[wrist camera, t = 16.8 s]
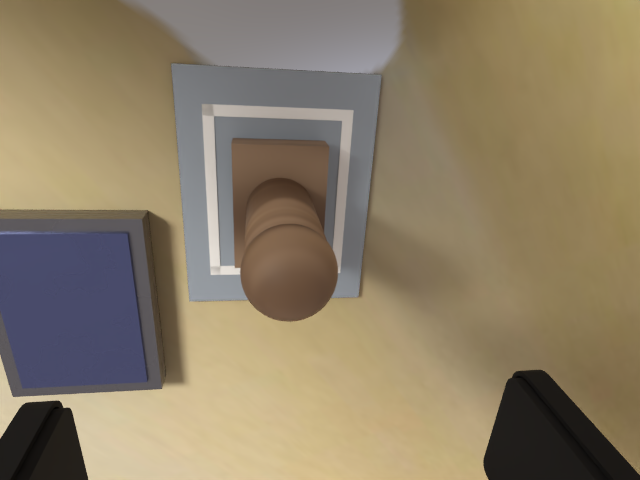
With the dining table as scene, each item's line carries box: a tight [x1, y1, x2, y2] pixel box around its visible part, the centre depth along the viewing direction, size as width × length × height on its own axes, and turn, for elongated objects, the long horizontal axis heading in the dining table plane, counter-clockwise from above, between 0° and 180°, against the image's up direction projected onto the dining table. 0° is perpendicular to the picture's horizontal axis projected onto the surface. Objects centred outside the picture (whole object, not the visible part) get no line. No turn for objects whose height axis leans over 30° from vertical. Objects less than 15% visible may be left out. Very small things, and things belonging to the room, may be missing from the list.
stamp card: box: [171, 63, 382, 301], centre depth 25 cm, size 14×11×1 cm
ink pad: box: [0, 210, 166, 397], centre depth 26 cm, size 12×9×2 cm
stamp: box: [231, 138, 338, 321], centre depth 20 cm, size 7×5×11 cm
